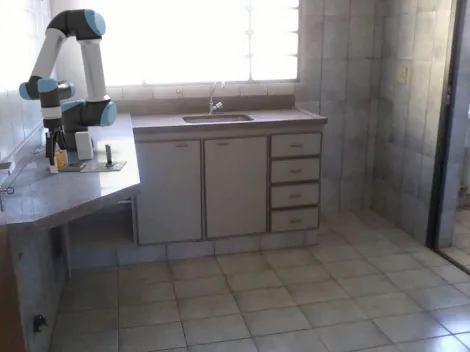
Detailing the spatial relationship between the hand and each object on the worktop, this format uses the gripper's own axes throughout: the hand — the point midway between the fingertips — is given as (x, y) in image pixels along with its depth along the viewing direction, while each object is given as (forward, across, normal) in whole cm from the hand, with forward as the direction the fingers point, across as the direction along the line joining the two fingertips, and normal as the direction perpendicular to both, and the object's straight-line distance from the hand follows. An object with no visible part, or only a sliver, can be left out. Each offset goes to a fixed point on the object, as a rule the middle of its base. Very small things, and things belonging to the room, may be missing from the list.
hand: (59, 168), depth 204 cm
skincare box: (0, -17, +6) cm, 18 cm away
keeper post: (0, 0, +19) cm, 19 cm away
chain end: (0, 0, +2) cm, 2 cm away
